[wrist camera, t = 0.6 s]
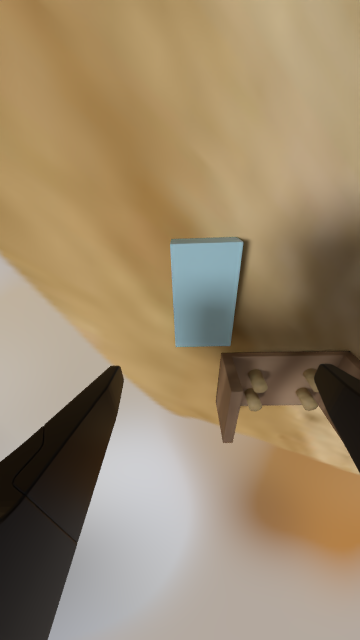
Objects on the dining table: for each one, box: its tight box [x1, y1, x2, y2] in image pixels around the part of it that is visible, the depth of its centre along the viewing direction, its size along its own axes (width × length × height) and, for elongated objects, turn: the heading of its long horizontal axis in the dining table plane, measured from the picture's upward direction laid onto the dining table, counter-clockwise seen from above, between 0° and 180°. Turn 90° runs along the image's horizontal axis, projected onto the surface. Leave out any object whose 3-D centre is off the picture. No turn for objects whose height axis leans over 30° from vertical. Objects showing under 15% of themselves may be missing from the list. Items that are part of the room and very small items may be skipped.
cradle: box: [216, 351, 360, 443], centre depth 21 cm, size 14×8×5 cm, turn 91°
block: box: [170, 237, 243, 347], centre depth 17 cm, size 9×5×2 cm, turn 2°
